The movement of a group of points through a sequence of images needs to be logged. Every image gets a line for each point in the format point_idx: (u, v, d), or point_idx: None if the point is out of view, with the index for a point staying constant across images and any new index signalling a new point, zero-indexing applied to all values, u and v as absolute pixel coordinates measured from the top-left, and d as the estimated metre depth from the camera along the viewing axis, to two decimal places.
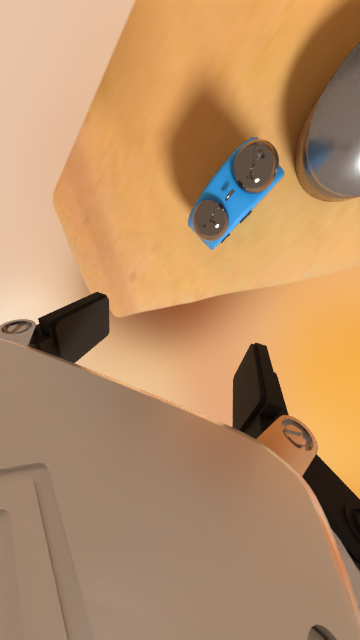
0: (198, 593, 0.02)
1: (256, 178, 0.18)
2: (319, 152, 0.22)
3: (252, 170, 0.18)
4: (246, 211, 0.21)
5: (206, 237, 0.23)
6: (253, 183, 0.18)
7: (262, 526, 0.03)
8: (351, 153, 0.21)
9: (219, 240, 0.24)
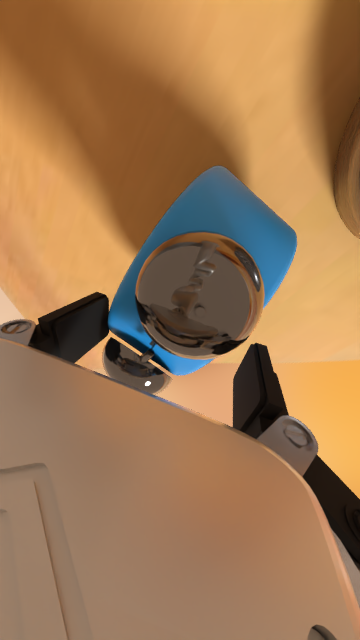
0: (198, 593, 0.02)
1: (193, 355, 0.06)
2: None
3: (174, 344, 0.06)
4: (200, 366, 0.09)
5: None
6: (190, 358, 0.07)
7: (262, 526, 0.03)
8: None
9: None
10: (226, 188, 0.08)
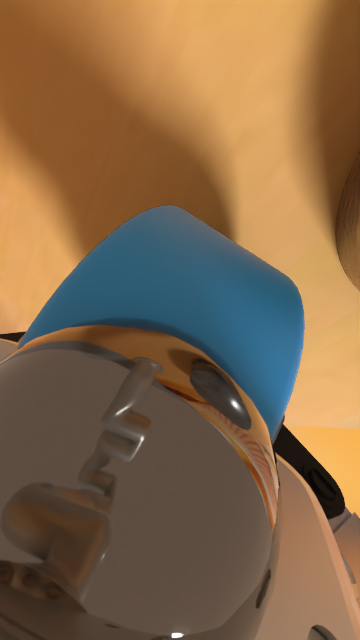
0: None
1: None
2: None
3: None
4: None
5: None
6: None
7: None
8: None
9: None
10: (176, 231, 0.05)
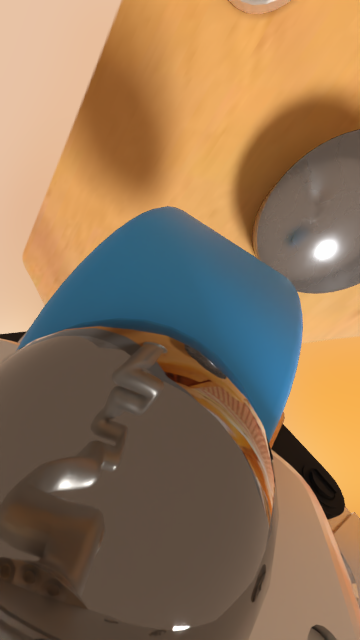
0: None
1: None
2: (268, 253, 0.21)
3: None
4: None
5: None
6: None
7: None
8: (300, 257, 0.20)
9: None
10: (176, 233, 0.05)
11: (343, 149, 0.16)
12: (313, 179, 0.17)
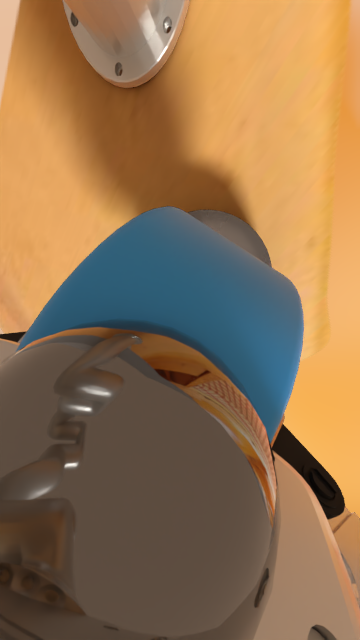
0: None
1: None
2: None
3: None
4: None
5: None
6: None
7: None
8: None
9: None
10: (176, 233, 0.05)
11: None
12: None
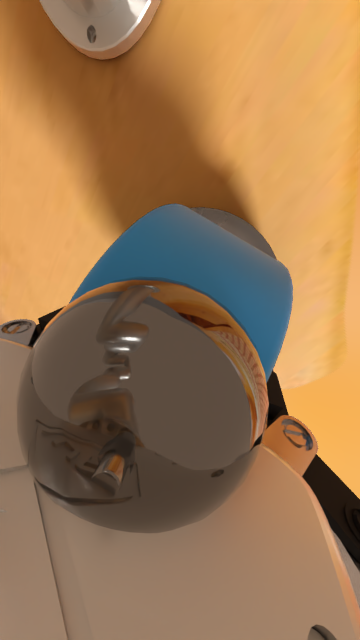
0: (198, 592, 0.02)
1: None
2: None
3: None
4: None
5: None
6: None
7: (262, 526, 0.03)
8: None
9: None
10: (184, 222, 0.06)
11: None
12: None
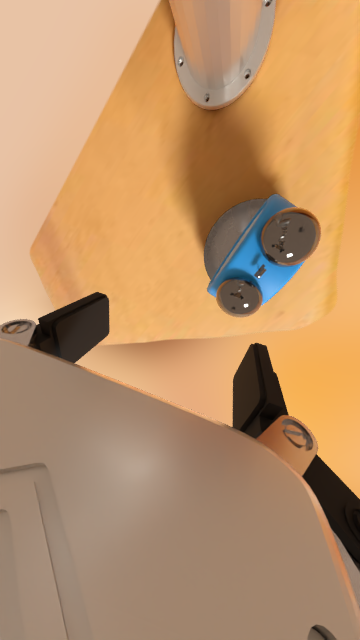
0: (198, 593, 0.02)
1: (296, 255, 0.14)
2: (211, 268, 0.31)
3: (289, 248, 0.14)
4: (284, 283, 0.17)
5: (237, 316, 0.19)
6: (292, 260, 0.14)
7: (262, 526, 0.03)
8: None
9: None
10: (285, 200, 0.17)
11: (251, 208, 0.25)
12: (235, 224, 0.27)
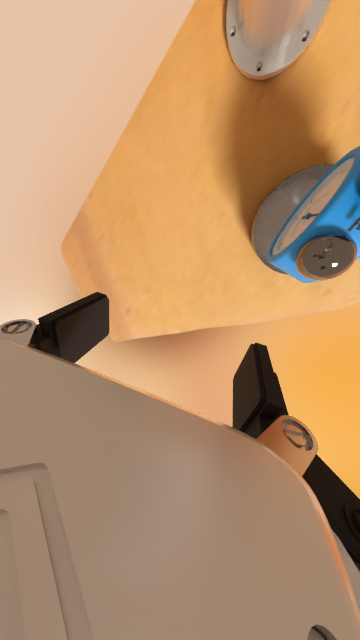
0: (198, 593, 0.02)
1: None
2: (261, 245, 0.30)
3: None
4: None
5: (323, 278, 0.18)
6: None
7: (262, 526, 0.03)
8: None
9: None
10: None
11: (310, 176, 0.24)
12: (291, 194, 0.26)
